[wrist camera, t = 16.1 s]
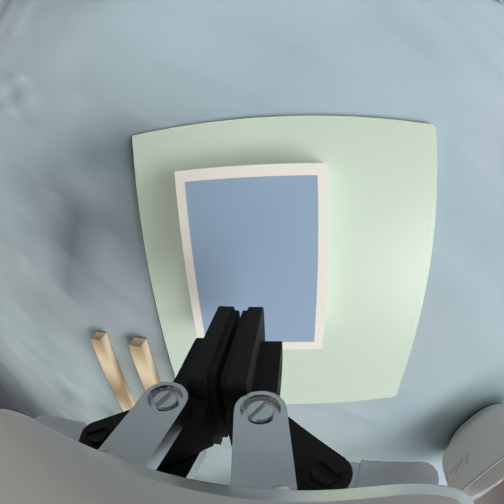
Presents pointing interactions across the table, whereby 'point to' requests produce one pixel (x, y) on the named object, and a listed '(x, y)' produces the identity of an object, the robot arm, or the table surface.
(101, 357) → the holder
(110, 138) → the table surface
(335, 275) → the mat
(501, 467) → the teacup
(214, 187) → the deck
